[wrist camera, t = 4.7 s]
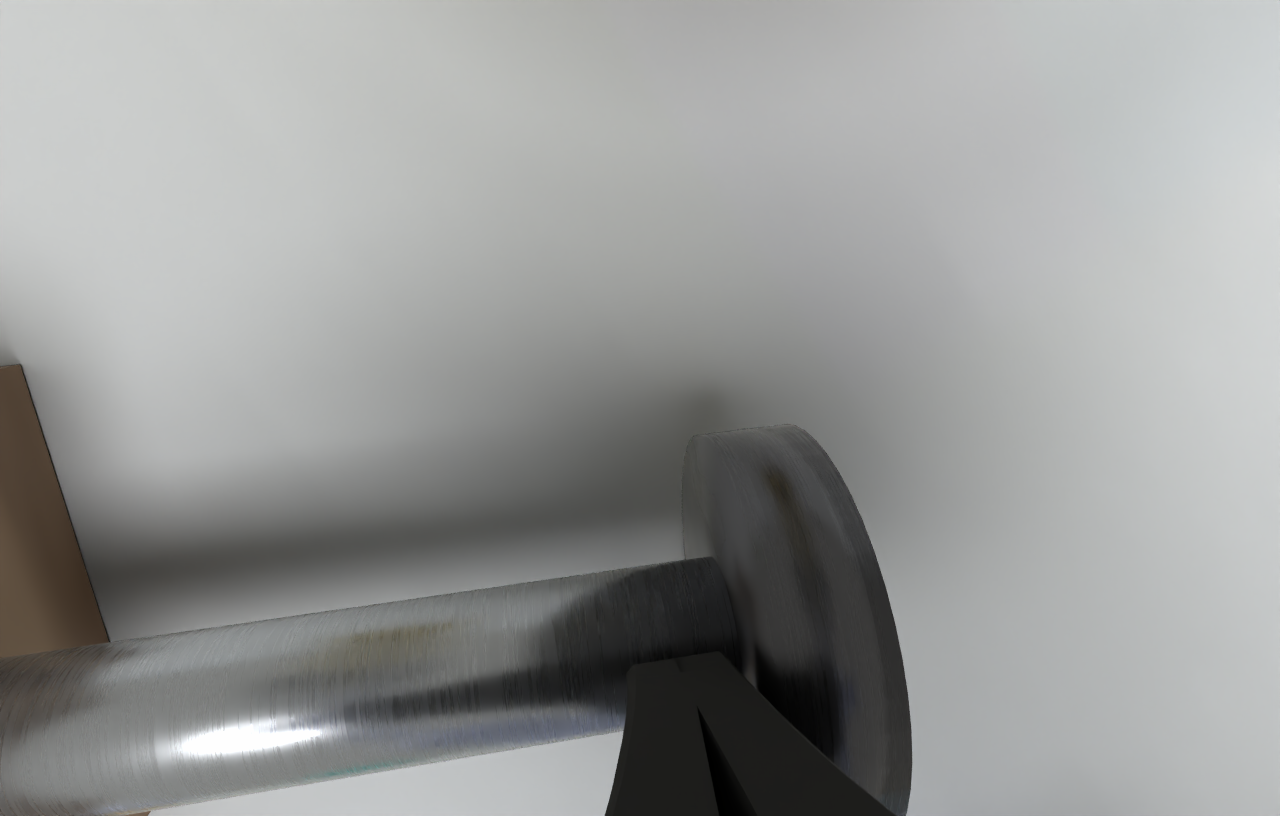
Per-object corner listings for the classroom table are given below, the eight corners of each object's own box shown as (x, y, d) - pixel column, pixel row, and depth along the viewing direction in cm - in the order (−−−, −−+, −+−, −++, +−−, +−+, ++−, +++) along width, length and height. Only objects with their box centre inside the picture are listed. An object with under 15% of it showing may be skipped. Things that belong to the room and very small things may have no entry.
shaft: (746, 388, 13) (915, 510, 7) (760, 668, 15) (910, 967, 9) (-278, 508, 11) (-1245, 815, 5) (-139, 815, 13) (-758, 1326, 7)
